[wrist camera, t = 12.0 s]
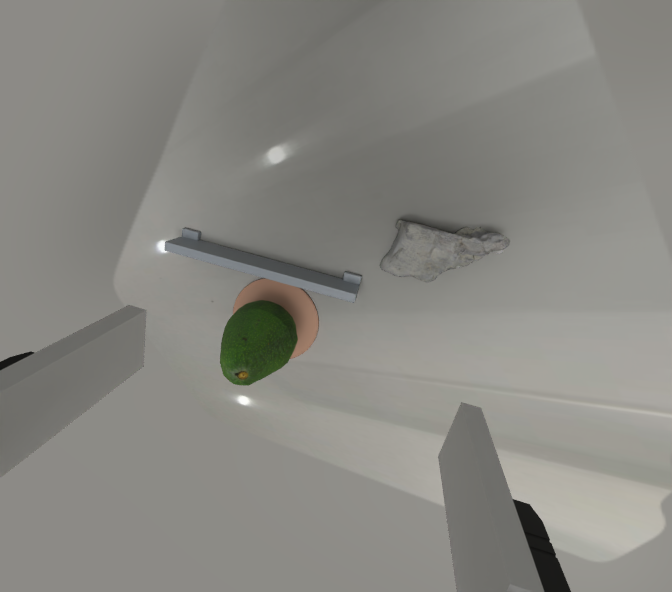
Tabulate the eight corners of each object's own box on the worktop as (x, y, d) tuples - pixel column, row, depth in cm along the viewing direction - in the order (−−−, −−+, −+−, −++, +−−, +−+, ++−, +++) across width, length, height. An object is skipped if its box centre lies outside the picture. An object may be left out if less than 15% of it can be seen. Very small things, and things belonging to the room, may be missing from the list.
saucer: (240, 267, 45) (239, 268, 44) (327, 291, 44) (326, 292, 44) (229, 344, 49) (228, 346, 48) (308, 368, 48) (308, 369, 48)
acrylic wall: (185, 227, 44) (165, 233, 41) (361, 275, 43) (358, 285, 39) (183, 251, 45) (164, 258, 42) (355, 299, 44) (351, 311, 40)
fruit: (253, 351, 48) (209, 407, 37) (237, 294, 46) (185, 335, 34) (311, 345, 46) (284, 401, 35) (297, 285, 44) (263, 326, 33)
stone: (488, 286, 41) (498, 297, 37) (379, 272, 42) (378, 283, 39) (501, 228, 39) (514, 234, 35) (387, 216, 40) (387, 220, 36)
